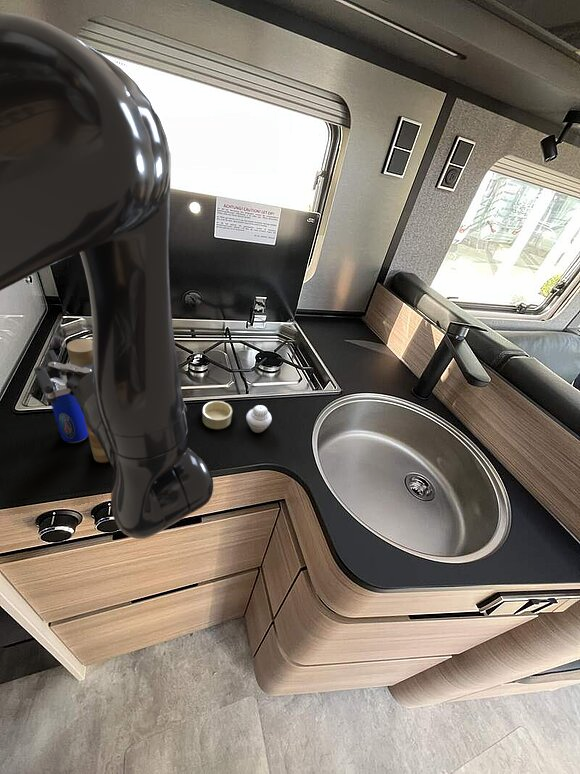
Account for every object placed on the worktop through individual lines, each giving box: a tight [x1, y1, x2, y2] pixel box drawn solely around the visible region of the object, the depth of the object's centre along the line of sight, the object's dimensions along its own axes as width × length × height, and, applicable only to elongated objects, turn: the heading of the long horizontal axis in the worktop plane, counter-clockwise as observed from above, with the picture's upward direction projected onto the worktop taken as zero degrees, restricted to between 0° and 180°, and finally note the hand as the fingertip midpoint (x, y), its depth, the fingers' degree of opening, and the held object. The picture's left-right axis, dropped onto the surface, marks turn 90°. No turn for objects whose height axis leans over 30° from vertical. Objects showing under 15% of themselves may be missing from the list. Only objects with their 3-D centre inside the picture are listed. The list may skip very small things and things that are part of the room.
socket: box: [201, 400, 233, 430], centre depth 81 cm, size 7×7×3 cm
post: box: [66, 338, 110, 464], centre depth 61 cm, size 4×4×26 cm
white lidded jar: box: [245, 404, 273, 434], centre depth 80 cm, size 6×6×7 cm
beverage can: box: [50, 378, 88, 444], centre depth 66 cm, size 5×5×15 cm
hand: (81, 349), depth 55 cm, fingers open, 8 cm apart
